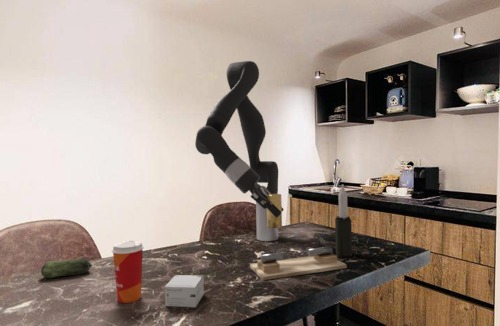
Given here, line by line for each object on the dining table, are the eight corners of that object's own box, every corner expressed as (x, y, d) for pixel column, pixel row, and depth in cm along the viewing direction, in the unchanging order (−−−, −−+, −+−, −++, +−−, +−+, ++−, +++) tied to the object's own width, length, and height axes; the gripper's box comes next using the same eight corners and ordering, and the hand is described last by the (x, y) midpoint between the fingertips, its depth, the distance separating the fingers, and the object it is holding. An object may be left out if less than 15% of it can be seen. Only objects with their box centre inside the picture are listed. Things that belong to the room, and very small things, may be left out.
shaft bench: (249, 267, 105) (249, 257, 105) (326, 256, 114) (326, 248, 114) (262, 280, 94) (262, 269, 93) (346, 267, 102) (346, 258, 102)
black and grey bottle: (349, 252, 118) (348, 183, 118) (352, 256, 113) (351, 184, 112) (335, 252, 119) (334, 183, 118) (337, 256, 114) (336, 185, 113)
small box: (164, 307, 79) (163, 286, 78) (175, 293, 86) (175, 274, 86) (195, 308, 78) (195, 287, 77) (204, 294, 85) (204, 274, 85)
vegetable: (39, 282, 96) (38, 265, 96) (43, 276, 101) (43, 260, 101) (91, 275, 101) (91, 259, 101) (93, 269, 106) (92, 254, 106)
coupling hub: (265, 225, 104) (264, 194, 104) (278, 224, 106) (278, 193, 105) (270, 228, 100) (269, 196, 100) (284, 227, 101) (283, 195, 101)
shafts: (260, 261, 101) (260, 253, 101) (328, 252, 108) (328, 245, 108) (263, 263, 99) (263, 256, 99) (332, 254, 106) (332, 247, 106)
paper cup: (118, 292, 87) (117, 240, 87) (148, 291, 88) (146, 239, 87) (108, 306, 79) (106, 249, 79) (140, 304, 80) (139, 247, 80)
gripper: (244, 168, 97) (286, 209, 95) (254, 165, 111) (291, 201, 108) (228, 186, 98) (268, 227, 96) (240, 181, 112) (275, 217, 110)
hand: (280, 213), depth 102 cm, fingers closed on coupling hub, 4 cm apart
